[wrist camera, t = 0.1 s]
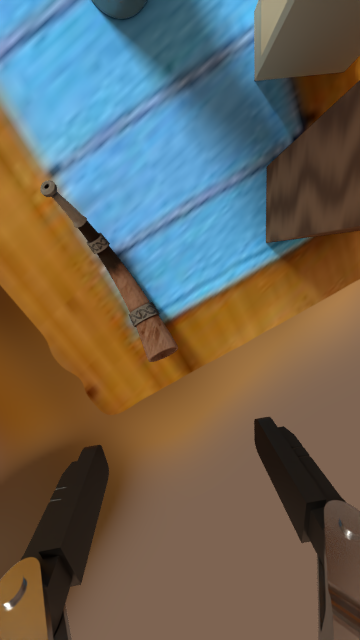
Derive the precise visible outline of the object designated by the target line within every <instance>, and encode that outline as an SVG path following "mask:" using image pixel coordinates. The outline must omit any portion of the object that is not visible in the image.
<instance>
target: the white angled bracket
mask: <svg viewBox="0 0 360 640" xmlns="http://www.w3.org/2000/svg"><path fill="white" fill-rule="evenodd" d="M359 56H360V0H258V3H257V6H256V9H255V11H254V58H255V81H260V80H270V79H280V78H290V77H300V76H310V75H320V74H330V73H340V72H344V71H345V70H346V69H347V68H348V67H349V66H350V65H351V64H352V63H353V62H354V61H355V60H356V59H357V58H358V57H359Z"/></svg>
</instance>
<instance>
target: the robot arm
mask: <svg viewBox="0 0 360 640" xmlns="http://www.w3.org/2000/svg"><path fill="white" fill-rule="evenodd" d="M92 1H93V2H94V4H95V5H96V6H97V7H98V8H99V9H100V10H101V11H102V12H104V13H105V14H107V15H108V16H111V17H114V18H117V19H126V18H130V17H132V16H134V15H135V14H137V13H138V12H139V11H140V10H141V9H142V8H143V6H144V5H145V3H146V1H147V0H92ZM254 425H255V427H254V428H255V429H254V430H255V445H256V449H257V452H258V454H259V456H260V458H261V460H262V463H263V464H264V467H265V469H266V471H267V473H268V475H269V477H270V479H271V481H272V483H273V485H274V487H275V489H276V491H277V493H278V495H279V497H280V499H281V502H282V503H283V505H284V508H285V510H286V512H287V514H288V516H289V518H290V520H291V522H292V524H293V526H294V528H295V530H296V532H297V534H298V536H299V539H300V541H301V543H304V542H309V541H311V543H312V545H313V547H314V549H315V551H316V553H317V586H318V587H317V589H318V590H317V591H318V640H360V511H359V510H358V509H356V508H355V507H353V506H352V505H350V504H348V503H346V502H345V501H344V500H343V499H342V498H341V497H340V495H339V494H338V493H337V491H336V490H335V489H334V487H333V486H332V485H331V483H330V482H329V480H328V479H327V478H326V476H325V475H324V474H323V473H322V471H321V470H320V469H319V467H318V466H317V464H316V463H315V462H314V460H313V459H312V458H311V457H310V456H309V454H308V452H307V451H306V450H305V448H303V446H302V444H301V443H300V442H299V440H298V439H297V438H296V436H295V435H294V434H293V433H291V432H290V431H289V430H288V429H286V428H285V427H277V426H276V424H275V423H274V421H273V420H272V419H271V418H270V417H264V418H259V419H255V421H254ZM108 475H109V468H108V463H107V460H106V458H105V455H104V452H103V449H102V446H101V445H96V446H89V447H85V448H84V449H83V450H82V452H81V454H80V456H79V459H78V461H75V462H72V463H71V464H70V466H69V467H68V468H67V469H66V470H65V472H64V473H63V474H62V476H61V479H60V480H59V483H58V485H57V487H56V490H55V491H54V493H53V495H52V497H51V499H50V500H51V501H50V503H49V504H48V506H47V508H46V510H45V512H44V514H43V516H42V518H41V520H40V522H39V524H38V527H37V529H36V531H35V533H34V535H33V537H32V539H31V541H30V543H29V545H28V547H27V549H26V551H25V553H24V555H23V557H22V559H21V560H20V562H18V563H17V564H16V565H14V566H13V567H12V568H11V569H10V570H9V571H8V572H7V573H6V574H5V575H4V576H3V577H2V579H1V580H0V640H72V638H71V632H70V626H69V620H68V615H67V609H66V604H65V602H66V599H67V595H68V592H69V588H70V587H71V586H76V585H81V582H82V578H83V574H84V570H85V567H86V563H87V559H88V555H89V551H90V547H91V543H92V539H93V535H94V532H95V528H96V524H97V520H98V516H99V512H100V509H101V505H102V501H103V497H104V493H105V489H106V485H107V481H108Z"/></svg>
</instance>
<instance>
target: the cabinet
mask: <svg viewBox="0 0 360 640" xmlns="http://www.w3.org/2000/svg"><path fill="white" fill-rule="evenodd" d="M352 231H360V81H359V82H358V83H356V84H355V85H354V86H353V87H352V88H351V89H350V90H349V91H348V92H347V93H346V94H345V95H343V96H342V97H341V98H340V99H339V100H338V101H337V102H336V103H335V104H334V105H333V106H332V107H331V108H329V109H328V110H327V111H326V112H325V113H324V114H323V115H322V116H321V117H320V118H319V119H318V120H317V121H315V122H314V123H313V124H312V125H311V126H310V127H309V128H308V129H307V130H306V131H305V132H304V133H302V134H301V135H300V136H299V137H298V138H297V139H296V140H295V141H294V142H293V143H292V144H291V145H290V146H288V147H287V148H286V149H285V150H284V151H283V152H282V153H281V154H280V155H279V156H278V157H277V158H275V159H274V160H273V161H272V162H271V163H270V164H269V165H268V166H267V189H266V243H269V242H277V241H284V240H292V239H299V238H307V237H315V236H322V235H330V234H337V233H345V232H352Z"/></svg>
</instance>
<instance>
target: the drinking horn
mask: <svg viewBox="0 0 360 640" xmlns="http://www.w3.org/2000/svg"><path fill="white" fill-rule="evenodd" d="M41 193H42V194H43V195H44V196H46V197H52V198H54V200H55V201H56V202H57V203H58V204H59V205H60V206H61V208H62V209H63V210H64V211H65V213H66V214H67V215H68V216H69V218H70V219H71V220H72V221H73V223H74V226H75V227H76V228H78V229H79V230H80V231H81V232H82V234H83V235H84V236H85V238H86V239H87V240H88V241H87V244H88V246H89V247H90V248H91V250H92V251H93V253H94V254H97V255H98V256H99V258H100V259H101V261H102V262H103V264H104V265H105V267H106V269H107V270H108V272H109V273H110V275H111V277H112V279H113V280H114V282H115V284H116V286H117V288H118V289H119V291H120V293H121V295H122V297H123V299H124V301H125V303H126V305H127V307H128V309H129V311H130V314H129V316H130V319H131V321H132V323H133V325H134V327H137V330H138V333H139V335H140V338H141V341H142V343H143V346H144V349H145V352H146V355H147V358H148V360H149V362H154V361H158V360H160V359H163V358H165V357H167V356H169V355H171V354H172V353H174V352H175V351H176V350H177V349H178V346H177V344H176V342H175V341H174V339H173V337H172V336H171V334H170V332H169V331H168V329H167V328H166V326H165V325H164V323H163V321H162V320H161V318H160V317H159V312H158V310H157V309H156V307H155V306H154V304H153V303H152V302H149V300H148V299H147V297H146V296H145V294H144V293H143V291H142V290H141V288H140V287H139V285H138V284H137V282H136V281H135V280H134V278H133V277H132V275H131V274H130V273H129V271H128V270H127V268H126V267H125V266H124V264H123V263H122V262H121V260H120V259H119V258H118V257H117V255H116V254H115V253H114V252H113V250H112V249H111V248H110V247H109V244H110V243H109V242H108V241H107V240H106V238H105V237H104V236H103V235H102V234H101V233H98V232H97V231H96V230H95V229H94V228H93V227H92V226H91V225H90V223H89V222H88V221H87V218H86V217H84V216H83V215H81V214H80V213H79V212H78V211H77V210H76V209H75V208H74V207H73V206H72V205H71V204H70V203H69V202H68V201H67V200H66V199H64V198H63V197H62V196H61V195H60V194H59V193H58V192H57V186H56V185H55V183H54V182H53V181H45V182H43V183H42V185H41Z"/></svg>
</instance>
